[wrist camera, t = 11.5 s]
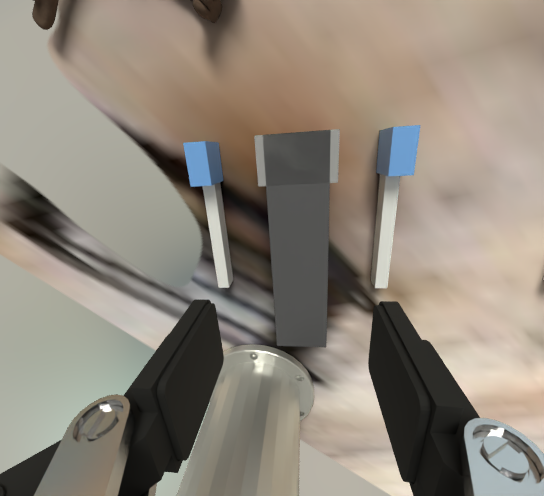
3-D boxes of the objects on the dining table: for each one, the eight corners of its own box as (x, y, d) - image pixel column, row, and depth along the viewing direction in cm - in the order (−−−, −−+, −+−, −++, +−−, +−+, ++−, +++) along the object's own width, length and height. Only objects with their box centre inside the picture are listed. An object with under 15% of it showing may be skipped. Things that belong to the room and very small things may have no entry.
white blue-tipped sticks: (556, 279, 21) (594, 299, 18) (220, 279, 25) (210, 296, 22) (621, 112, 17) (685, 105, 14) (199, 143, 20) (183, 143, 18)
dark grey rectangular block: (326, 310, 25) (332, 347, 20) (276, 309, 25) (271, 345, 21) (330, 134, 19) (339, 129, 14) (265, 138, 20) (254, 135, 15)
